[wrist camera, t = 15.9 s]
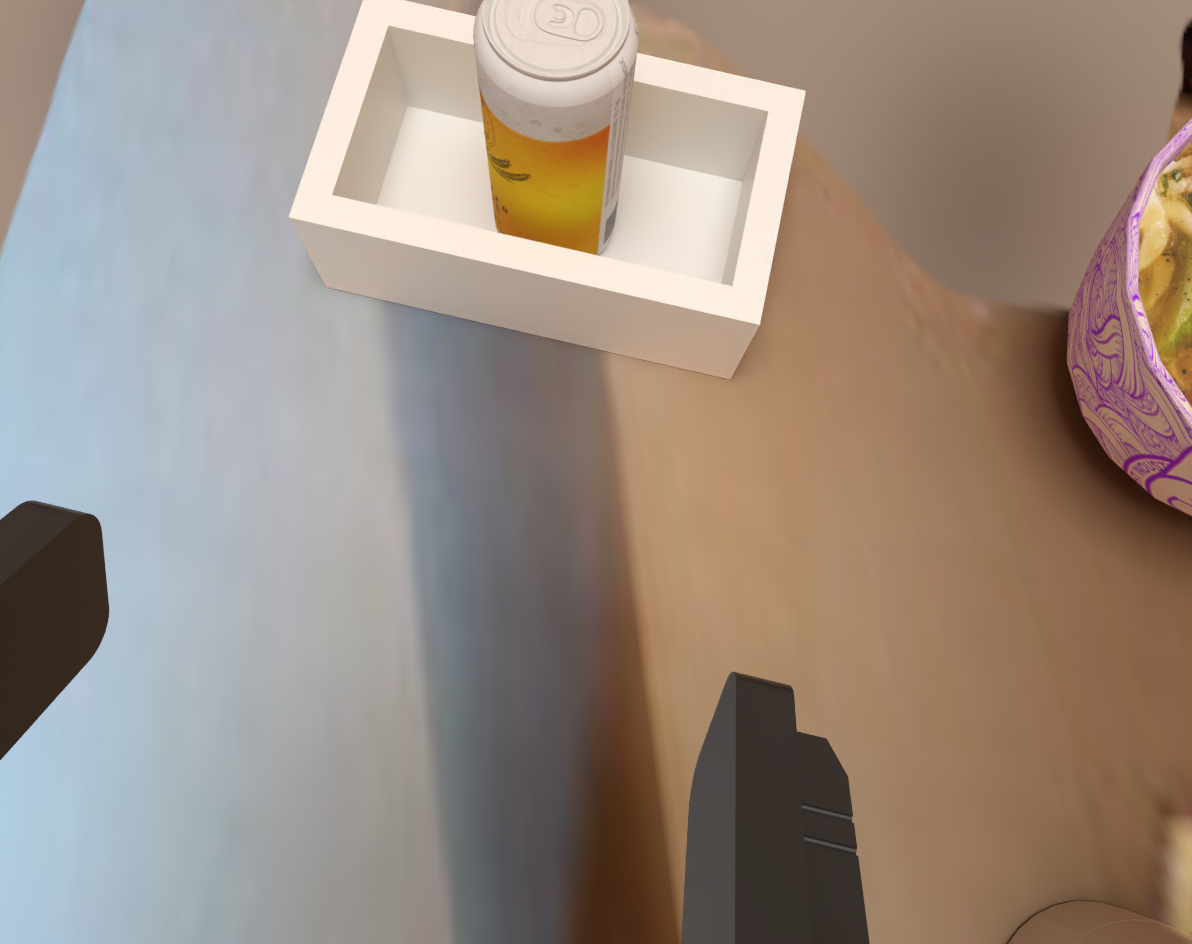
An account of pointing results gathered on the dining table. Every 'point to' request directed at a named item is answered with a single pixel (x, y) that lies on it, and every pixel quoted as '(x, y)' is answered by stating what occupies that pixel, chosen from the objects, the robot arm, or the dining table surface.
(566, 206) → the beer can
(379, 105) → the white rectangular tray
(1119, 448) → the bowl of food
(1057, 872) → the dining table surface
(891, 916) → the dining table surface
